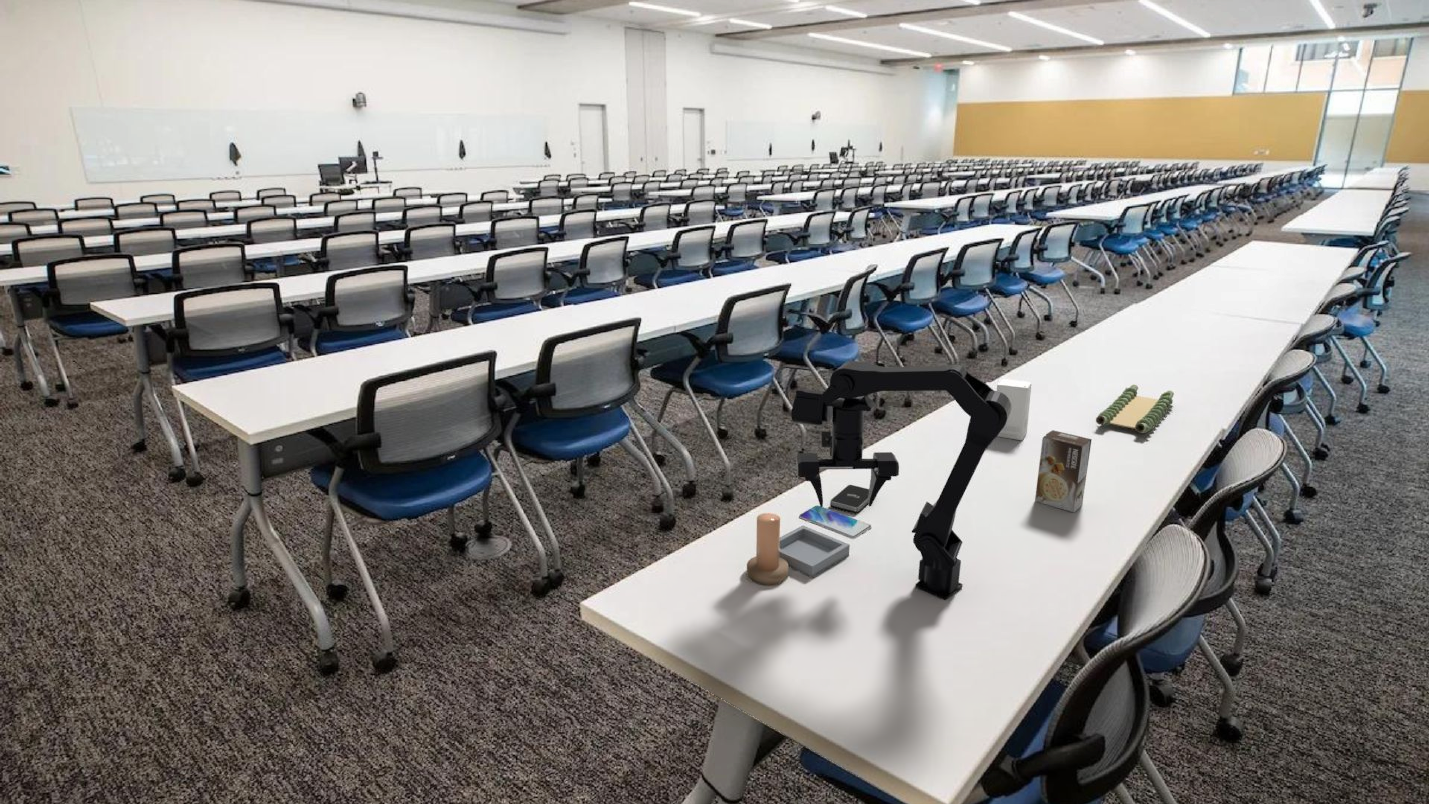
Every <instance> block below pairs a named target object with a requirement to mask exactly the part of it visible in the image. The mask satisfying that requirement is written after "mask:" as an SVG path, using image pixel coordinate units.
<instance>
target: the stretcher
mask: <svg viewBox="0 0 1429 804" xmlns="http://www.w3.org/2000/svg"><path fill="white" fill-rule="evenodd" d="M1138 390H1139V387H1138V385H1137V384H1131V386H1130V387H1125V389H1124V390H1123V392H1122V393H1121V394H1120V395H1119V396H1117V399H1114V401H1113V402H1112V403H1111V404H1110V405H1109V406H1108V407H1107V408H1105V409H1104V410H1103V411H1101V412H1100V413H1098V415H1097V417H1096V418H1095V422H1096V424H1097V425H1101V426H1103V427H1104V426H1105V427H1106V426H1108V425H1114V426H1119V427H1123V428H1129V429H1133V430H1134V429H1135V431H1136V432H1138V433H1140V434H1145V433H1147V432H1149V431H1151V430H1152V429H1154V428H1155V426H1156V425H1157V424H1158V423H1159V422H1160V421H1161V420H1162V418H1163V417H1164V416H1165V415H1166V413H1167V412H1168V409H1170V408H1171V405H1172V404H1173V398H1174V395H1175V393H1174V391H1172V390H1167V391H1166V392H1163V393H1161V395H1160V397H1159V398H1153V397H1152V398H1151V397H1145V396H1140V395H1138Z"/></svg>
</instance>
